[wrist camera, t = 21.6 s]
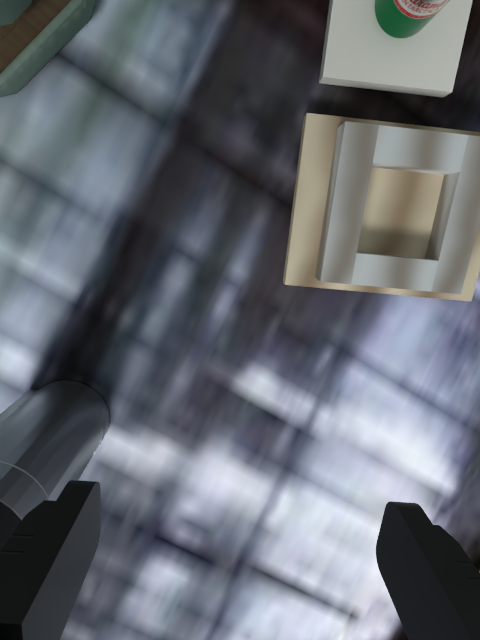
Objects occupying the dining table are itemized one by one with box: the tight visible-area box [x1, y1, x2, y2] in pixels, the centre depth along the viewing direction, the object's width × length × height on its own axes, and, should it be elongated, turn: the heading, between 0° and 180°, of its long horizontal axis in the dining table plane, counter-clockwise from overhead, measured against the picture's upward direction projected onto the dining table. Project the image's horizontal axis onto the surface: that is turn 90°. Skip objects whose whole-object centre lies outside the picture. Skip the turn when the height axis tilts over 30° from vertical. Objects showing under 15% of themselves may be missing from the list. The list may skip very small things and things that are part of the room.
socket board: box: [283, 113, 480, 301], centre depth 35 cm, size 20×16×4 cm
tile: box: [319, 0, 472, 97], centre depth 32 cm, size 12×12×2 cm
